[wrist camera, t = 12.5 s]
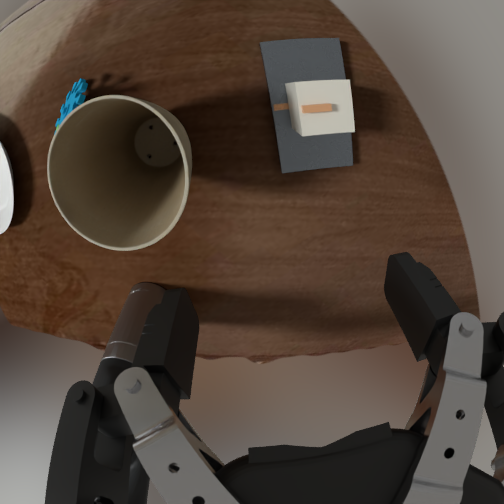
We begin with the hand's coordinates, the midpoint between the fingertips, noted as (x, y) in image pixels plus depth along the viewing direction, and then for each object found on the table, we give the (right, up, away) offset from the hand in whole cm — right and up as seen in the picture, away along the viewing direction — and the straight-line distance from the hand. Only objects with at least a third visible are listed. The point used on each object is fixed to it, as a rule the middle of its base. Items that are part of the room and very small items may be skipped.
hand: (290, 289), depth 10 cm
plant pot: (-14, +17, +24) cm, 32 cm away
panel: (+6, +21, +21) cm, 30 cm away
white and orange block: (+6, +20, +19) cm, 28 cm away
